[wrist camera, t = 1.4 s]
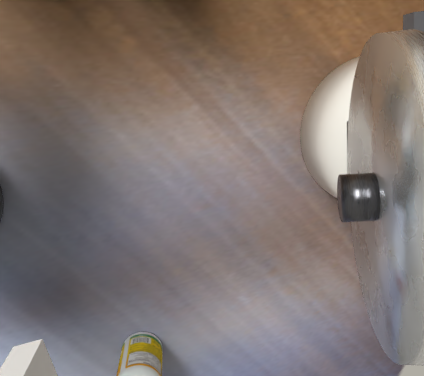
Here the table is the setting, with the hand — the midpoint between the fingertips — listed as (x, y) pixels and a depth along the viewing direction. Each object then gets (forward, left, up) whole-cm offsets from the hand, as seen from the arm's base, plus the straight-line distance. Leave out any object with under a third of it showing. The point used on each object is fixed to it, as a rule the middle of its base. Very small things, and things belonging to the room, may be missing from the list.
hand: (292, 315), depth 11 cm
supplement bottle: (+2, -29, -36) cm, 46 cm away
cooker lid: (+10, +3, -12) cm, 16 cm away
